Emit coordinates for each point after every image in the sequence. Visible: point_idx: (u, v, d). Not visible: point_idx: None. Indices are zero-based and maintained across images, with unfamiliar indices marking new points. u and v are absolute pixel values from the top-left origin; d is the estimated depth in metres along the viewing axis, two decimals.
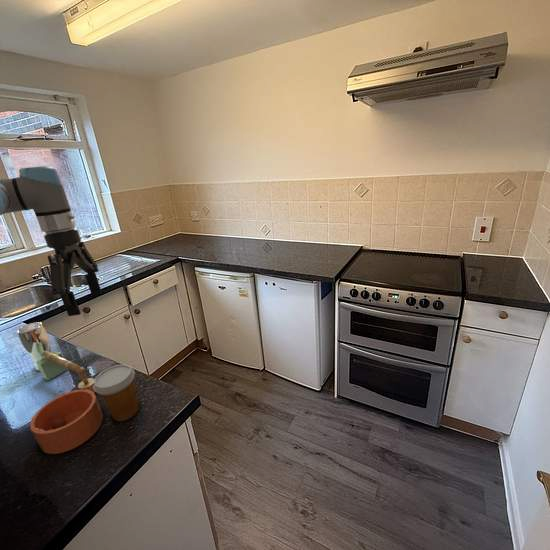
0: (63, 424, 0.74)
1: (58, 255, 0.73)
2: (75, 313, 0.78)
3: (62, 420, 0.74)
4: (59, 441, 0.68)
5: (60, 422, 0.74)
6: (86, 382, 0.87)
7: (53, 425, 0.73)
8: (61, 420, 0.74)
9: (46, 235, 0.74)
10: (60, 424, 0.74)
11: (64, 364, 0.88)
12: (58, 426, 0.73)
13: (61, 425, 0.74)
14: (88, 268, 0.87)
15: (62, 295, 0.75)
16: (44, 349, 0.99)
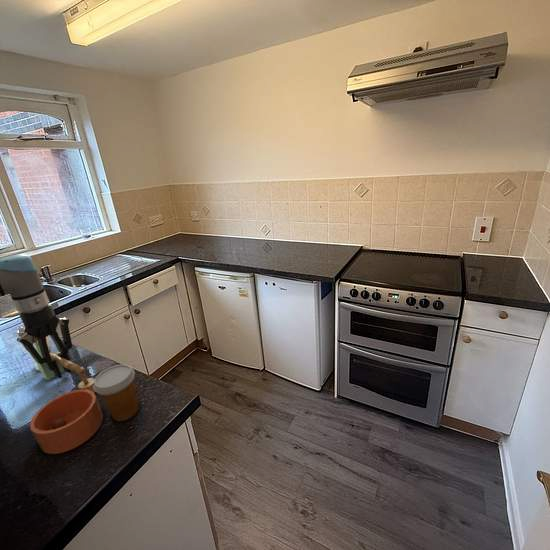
0: (63, 424, 0.74)
1: (21, 341, 0.83)
2: (58, 376, 0.92)
3: (62, 420, 0.74)
4: (59, 441, 0.68)
5: (60, 422, 0.74)
6: (86, 382, 0.87)
7: (53, 425, 0.73)
8: (61, 420, 0.74)
9: (20, 313, 0.84)
10: (60, 424, 0.74)
11: (64, 364, 0.88)
12: (58, 426, 0.73)
13: (61, 425, 0.74)
14: (59, 347, 0.92)
15: (45, 362, 0.89)
16: None
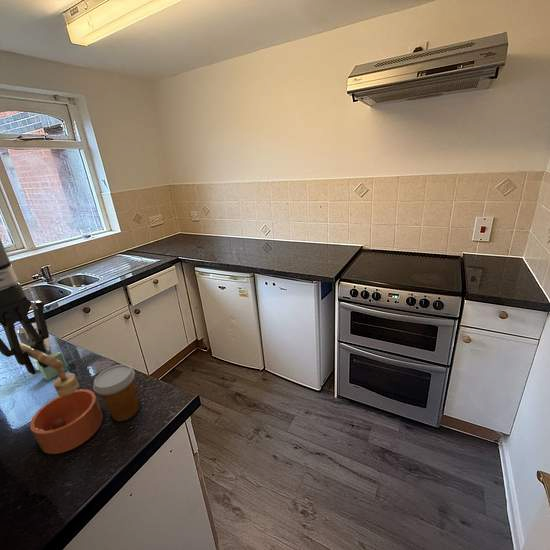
0: (63, 424, 0.74)
1: None
2: (31, 372, 0.76)
3: (62, 420, 0.74)
4: (59, 441, 0.68)
5: (60, 422, 0.74)
6: (64, 378, 0.70)
7: (53, 425, 0.73)
8: (61, 420, 0.74)
9: None
10: (60, 424, 0.74)
11: (37, 357, 0.72)
12: (58, 426, 0.73)
13: (61, 425, 0.74)
14: (31, 336, 0.75)
15: (14, 355, 0.73)
16: None
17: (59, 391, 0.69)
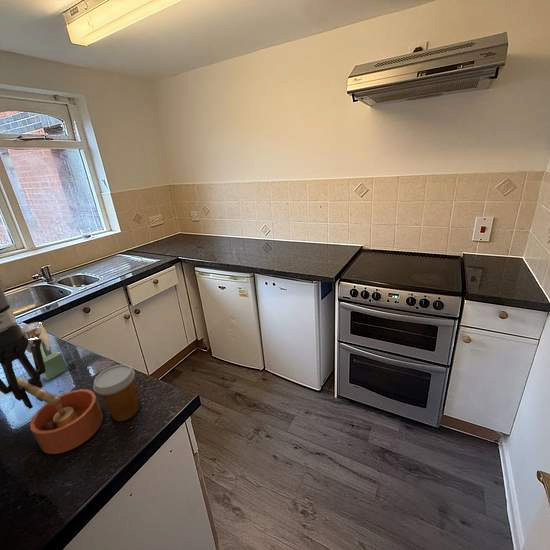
0: (47, 426, 0.73)
1: None
2: (27, 406, 0.79)
3: (44, 425, 0.73)
4: (59, 441, 0.68)
5: (43, 427, 0.73)
6: (62, 413, 0.74)
7: None
8: (44, 425, 0.73)
9: None
10: (44, 428, 0.72)
11: (35, 393, 0.75)
12: None
13: (46, 428, 0.72)
14: (28, 372, 0.78)
15: (12, 391, 0.76)
16: (44, 349, 0.99)
17: (59, 426, 0.73)
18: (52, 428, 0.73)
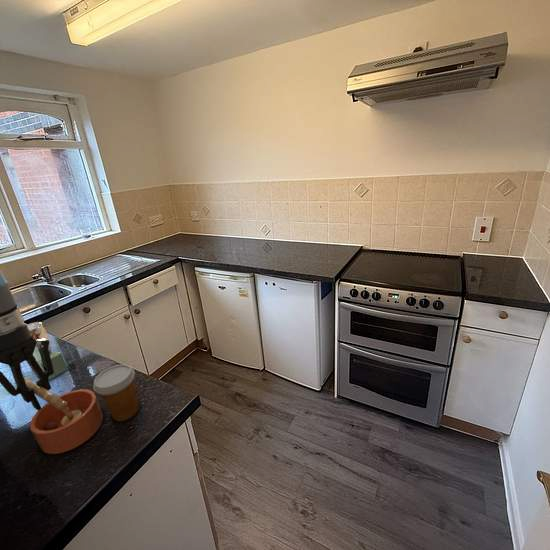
0: (49, 426, 0.73)
1: None
2: (36, 408, 0.78)
3: (47, 424, 0.73)
4: (59, 441, 0.68)
5: (45, 427, 0.73)
6: (71, 417, 0.72)
7: None
8: (46, 425, 0.73)
9: None
10: (46, 428, 0.72)
11: (42, 397, 0.74)
12: None
13: (47, 428, 0.72)
14: (37, 373, 0.77)
15: None
16: None
17: None
18: None
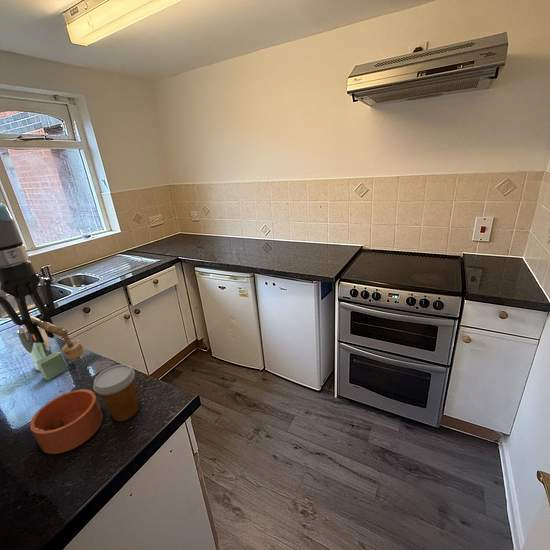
0: (60, 426, 0.73)
1: None
2: (39, 341, 0.85)
3: (59, 421, 0.74)
4: (59, 441, 0.68)
5: (57, 423, 0.73)
6: (70, 344, 0.80)
7: (50, 426, 0.73)
8: (58, 421, 0.74)
9: None
10: (57, 426, 0.73)
11: (45, 327, 0.81)
12: (55, 428, 0.73)
13: (58, 427, 0.73)
14: (40, 309, 0.85)
15: (25, 325, 0.83)
16: (44, 349, 0.99)
17: (68, 355, 0.79)
18: None
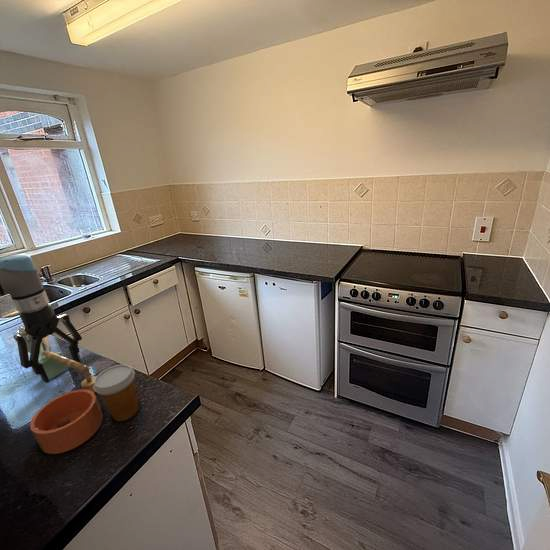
0: None
1: (18, 338, 0.82)
2: (44, 380, 0.89)
3: None
4: (59, 441, 0.68)
5: None
6: (89, 380, 0.87)
7: (62, 421, 0.73)
8: (69, 422, 0.75)
9: (20, 312, 0.84)
10: None
11: (66, 363, 0.89)
12: None
13: None
14: (67, 340, 0.93)
15: (31, 366, 0.86)
16: (44, 349, 0.99)
17: None
18: None
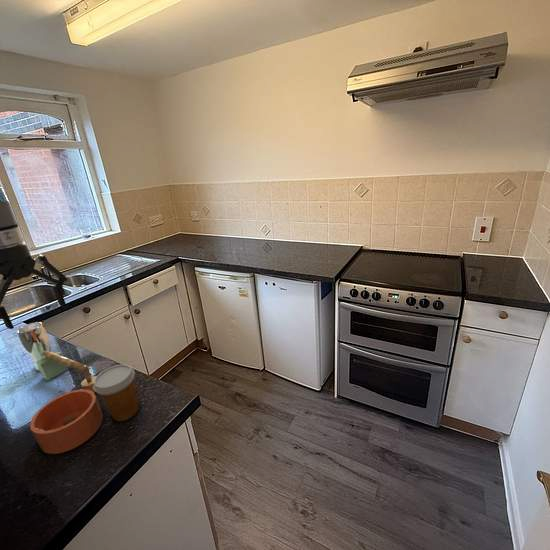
0: None
1: None
2: (8, 327, 0.80)
3: None
4: (59, 441, 0.68)
5: None
6: (89, 380, 0.87)
7: None
8: None
9: None
10: None
11: (66, 363, 0.89)
12: None
13: None
14: (50, 281, 0.88)
15: None
16: (44, 349, 0.99)
17: None
18: None
